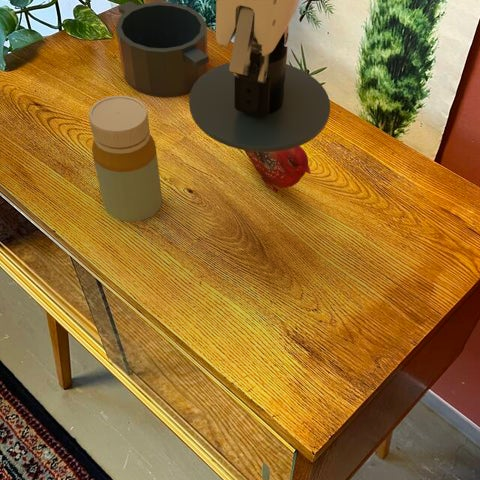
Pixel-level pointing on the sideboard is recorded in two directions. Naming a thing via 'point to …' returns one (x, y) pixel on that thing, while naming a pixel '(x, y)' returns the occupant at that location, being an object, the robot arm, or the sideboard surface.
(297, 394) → the sideboard surface
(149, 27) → the pot
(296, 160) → the decorative bird figurine
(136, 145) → the bottle
